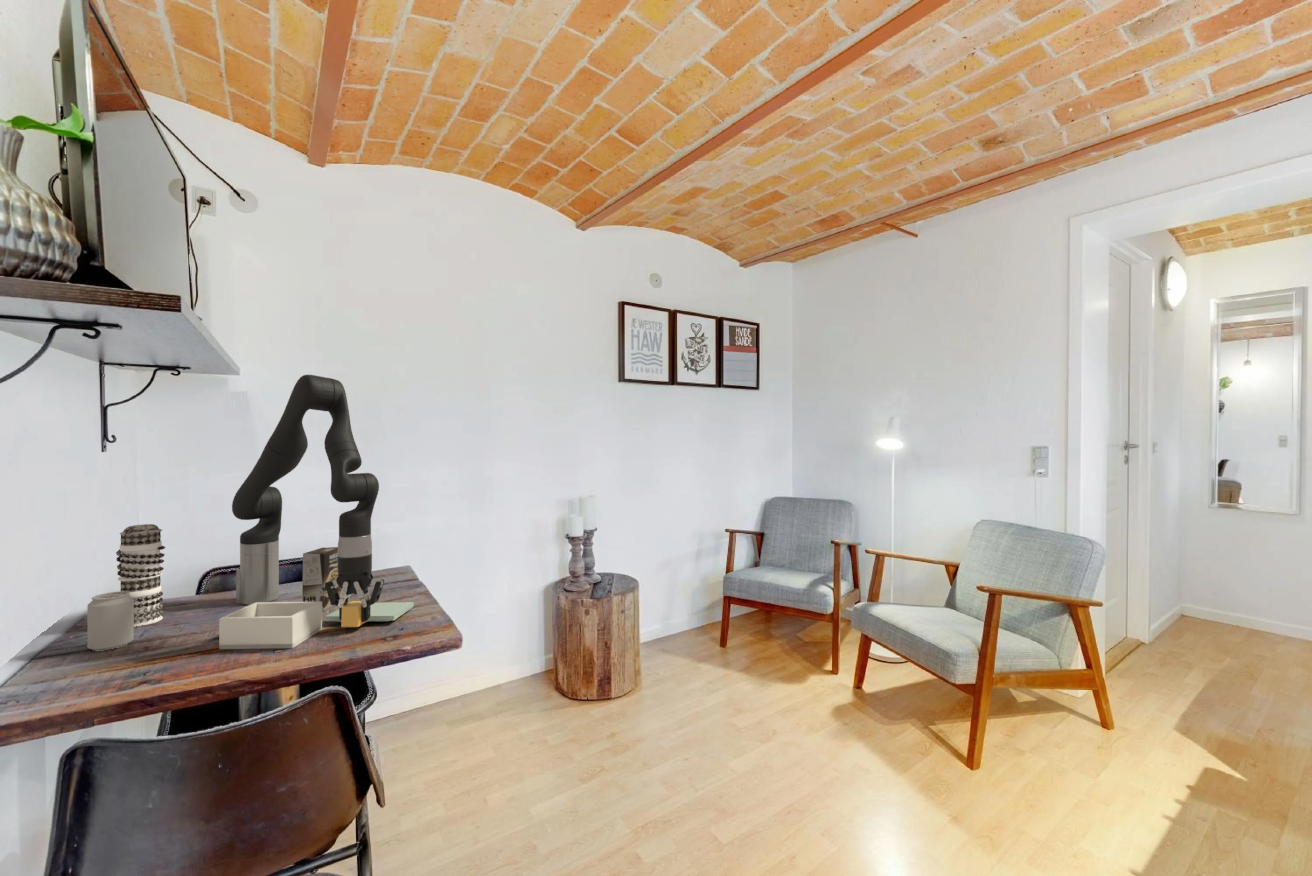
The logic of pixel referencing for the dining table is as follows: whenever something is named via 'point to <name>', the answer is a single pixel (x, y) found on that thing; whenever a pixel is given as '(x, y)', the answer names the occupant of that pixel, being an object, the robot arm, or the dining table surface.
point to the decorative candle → (142, 571)
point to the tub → (270, 625)
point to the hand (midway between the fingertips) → (354, 620)
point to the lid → (377, 613)
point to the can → (110, 620)
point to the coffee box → (319, 575)
